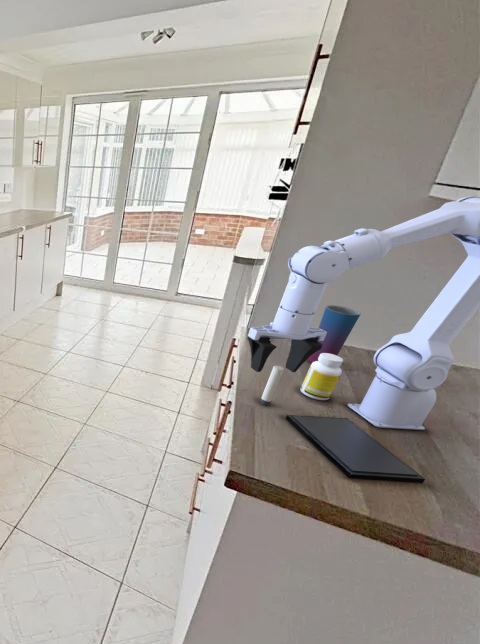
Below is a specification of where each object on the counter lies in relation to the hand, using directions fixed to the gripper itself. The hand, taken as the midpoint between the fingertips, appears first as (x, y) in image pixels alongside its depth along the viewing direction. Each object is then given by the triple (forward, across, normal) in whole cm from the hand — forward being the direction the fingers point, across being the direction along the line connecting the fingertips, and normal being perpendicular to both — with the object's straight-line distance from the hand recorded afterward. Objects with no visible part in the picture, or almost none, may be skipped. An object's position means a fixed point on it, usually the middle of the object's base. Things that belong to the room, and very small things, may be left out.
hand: (272, 369), depth 86 cm
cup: (+9, -31, -20) cm, 38 cm away
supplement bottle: (+9, -16, -4) cm, 19 cm away
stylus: (+9, -2, -1) cm, 9 cm away
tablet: (+9, -7, +14) cm, 18 cm away
